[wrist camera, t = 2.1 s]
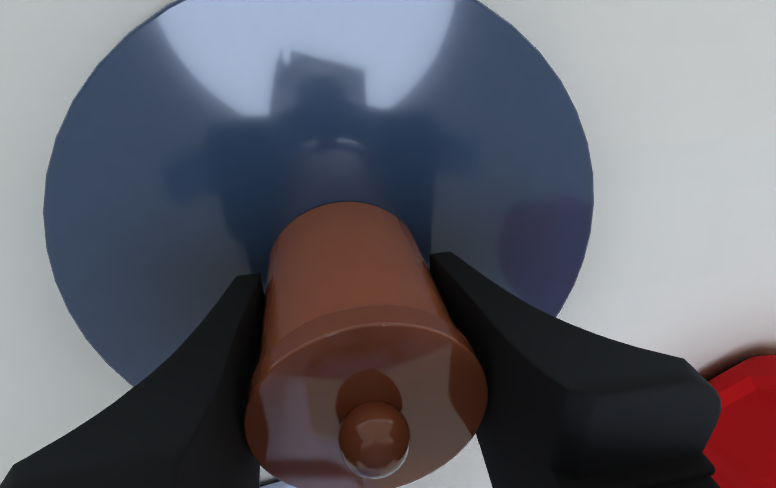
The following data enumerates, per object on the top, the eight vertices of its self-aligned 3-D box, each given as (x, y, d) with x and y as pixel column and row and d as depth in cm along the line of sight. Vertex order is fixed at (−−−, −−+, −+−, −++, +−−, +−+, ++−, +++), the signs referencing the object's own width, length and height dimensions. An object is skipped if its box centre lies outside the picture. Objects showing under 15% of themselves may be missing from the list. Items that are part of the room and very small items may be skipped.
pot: (434, 310, 15) (517, 506, 10) (291, 349, 15) (288, 573, 9) (409, 176, 13) (501, 335, 7) (236, 221, 13) (186, 422, 7)
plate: (574, 360, 19) (587, 377, 18) (200, 466, 19) (196, 489, 18) (584, -106, 11) (608, -113, 10) (-90, 50, 10) (-126, 57, 9)
